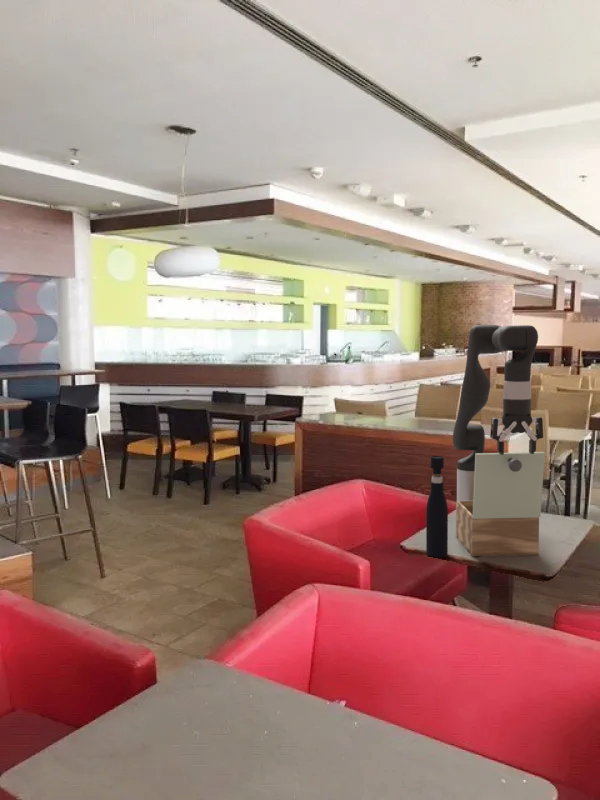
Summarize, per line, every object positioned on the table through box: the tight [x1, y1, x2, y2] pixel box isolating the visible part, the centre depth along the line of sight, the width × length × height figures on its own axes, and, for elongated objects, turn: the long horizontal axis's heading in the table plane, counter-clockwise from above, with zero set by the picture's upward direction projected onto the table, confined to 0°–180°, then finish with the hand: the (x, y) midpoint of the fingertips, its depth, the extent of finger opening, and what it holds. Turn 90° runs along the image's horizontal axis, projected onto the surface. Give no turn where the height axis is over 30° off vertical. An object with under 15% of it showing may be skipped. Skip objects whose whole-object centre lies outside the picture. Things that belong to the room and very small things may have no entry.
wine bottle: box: [425, 455, 449, 559], centre depth 209 cm, size 6×6×30 cm
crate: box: [455, 500, 540, 557], centre depth 217 cm, size 20×20×12 cm
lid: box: [473, 451, 546, 519], centre depth 200 cm, size 20×20×7 cm
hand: (516, 453), depth 196 cm, fingers open, 8 cm apart
